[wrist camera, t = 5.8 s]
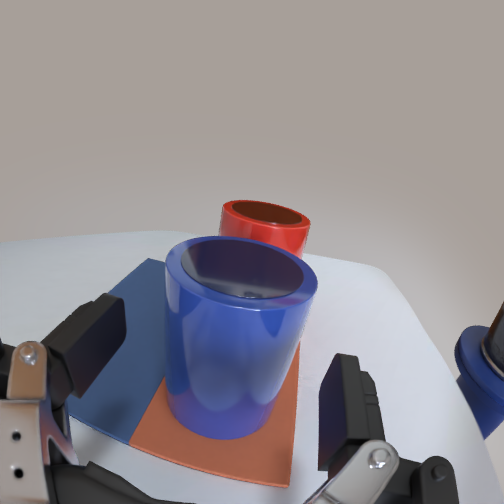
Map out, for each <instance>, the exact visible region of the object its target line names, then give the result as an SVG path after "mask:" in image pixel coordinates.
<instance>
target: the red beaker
mask: <svg viewBox="0 0 504 504" xmlns="http://www.w3.org/2000/svg"><path fill="white" fill-rule="evenodd" d="M309 228H310V220H309V219H308V218H307V217H305V216H304V215H302V214H301V213H299V212H297V211H294V210H292V209H289V208H286V207H283V206H279V205H276V204H271V203H266V202H260V201H249V200H237V201H230V202H227V203H225V204H224V205H223V208H222V215H221V222H220V228H219V236H231V237H240V238H247V239H252V240H256V241H260V242H264V243H267V244H271V245H273V246H276V247H279V248H281V249H284V250H286V251H288V252H290V253H292V254H293V255H295V256H297V257H298V258H300V259H302V256H303V251H304V248H305V244H306V240H307V236H308V232H309Z"/></svg>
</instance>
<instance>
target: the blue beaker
mask: <svg viewBox="0 0 504 504" xmlns="http://www.w3.org/2000/svg"><path fill="white" fill-rule="evenodd" d="M317 287H318V281H317V277H316V275H315V273H314V272H313V270H312V269H311V268H310V267H309V266H308V265H307V264H306V263H305V262H304V261H303V260H301V259H300V258H298V257H297V256H295V255H293V254H292V253H290V252H288V251H286V250H284V249H281V248H279V247H276V246H273V245H271V244H267V243H264V242H260V241H256V240H252V239H247V238H240V237H231V236H207V237H199V238H194V239H190V240H187V241H184V242H182V243H180V244H178V245H176V246H175V247H173V248H172V249H171V250H170V251H169V253H168V255H167V257H166V261H165V285H164V365H165V388H166V400H167V404H168V407H169V409H170V411H171V413H172V414H173V416H174V417H175V418H176V419H177V420H178V421H179V423H181V424H182V425H183V426H184V427H186V428H187V429H189V430H190V431H192V432H194V433H196V434H198V435H201V436H204V437H207V438H212V439H219V440H231V439H238V438H242V437H245V436H248V435H250V434H252V433H254V432H256V431H257V430H259V429H260V428H261V427H262V426H263V425H264V424H265V423H266V422H267V420H268V419H269V417H270V415H271V413H272V410H273V408H274V406H275V403H276V401H277V398H278V396H279V393H280V391H281V388H282V386H283V383H284V381H285V378H286V376H287V373H288V370H289V368H290V365H291V363H292V360H293V357H294V354H295V352H296V349H297V346H298V344H299V341H300V338H301V335H302V332H303V329H304V327H305V324H306V321H307V318H308V315H309V312H310V309H311V306H312V303H313V300H314V297H315V294H316V290H317Z"/></svg>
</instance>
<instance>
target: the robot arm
mask: <svg viewBox="0 0 504 504" xmlns="http://www.w3.org/2000/svg"><path fill="white" fill-rule="evenodd" d="M126 333H127V327H126V316H125V304H124V300H123V299H122V298H120V297H117V296H114V295H111V294H108V293H103V294H102V295H101V296H100V297H99V298H97V299H96V300H95V301H94V302H93V301H90V302H88V303H86V304H83V305H81V306H79V307H78V308H77V309H76V310H75V311H74V312H73V313H72V315H69V316H68V317H67V318H66V319H65V321H63V322H62V323H60V324H59V325H58V326H57V327H56V328H55V329H54V330H53V331H52V332H51V333H50V334H49V335H48V336H46V337H45V338H44V339H43V340H42V341H41V342H40V343H39V342H36V341H27V342H24V343H22V344H20V345H18V346H17V347H14V346H10V345H7V344H3V343H2V341H1V339H0V504H195V503H183V502H173V501H165V500H158V499H154V498H151V497H150V496H148V495H146V494H145V493H143V492H142V491H141V490H139V489H138V488H136V487H135V486H133V485H132V484H130V483H129V482H128V481H126V480H125V479H124V478H122V477H121V476H119V475H117V474H115V473H113V472H111V471H109V470H106V469H105V468H103V467H101V466H99V465H97V464H95V463H93V462H91V461H89V463H88V464H87V466H81V465H79V461H78V458H77V455H76V453H75V450H74V448H73V444H72V439H71V432H70V423H69V414H68V403H67V400H66V399H67V397H68V396H69V395H70V394H71V395H73V396H75V397H77V398H78V399H81V398H82V396H83V395H84V394H85V392H86V391H87V390H88V388H89V387H90V386H91V384H92V383H93V382H94V380H95V379H96V378H97V376H98V375H99V374H100V372H101V371H102V370H103V368H104V367H105V366H106V365H107V363H108V362H109V361H110V359H111V358H112V357H113V356H114V354H115V353H116V352H117V351H118V349H119V348H120V347H121V345H122V344H123V342H124V340H125V338H126ZM480 352H481V355H482V357H483V359H484V361H485V362H486V364H487V365H488V367H489V368H490V369H491V370H492V371H493V373H494V374H495V375H496V376H497V377H499V378H500V379H501V380H502V381H503V382H504V302H503V304H502V306H501V308H500V310H499V312H498V314H497V316H496V317H495V319H494V321H493V323H492V325H491V327H490V328H489V330H488V332H487V334H486V335H485V336H484V337H483V339H482V341H481V342H480ZM378 404H379V402H378V397H377V392H376V387H375V382H374V381H373V379H372V378H371V376H370V375H369V374H368V372H365V371H360V366H359V360H358V357H357V356H352V355H346V354H340V353H337V354H336V355H335V356H334V358H333V360H332V362H331V364H330V367H329V369H328V371H327V373H326V375H325V377H324V379H323V381H322V383H321V386H320V391H319V448H318V471H328V479H327V480H326V481H325V482H324V483H323V484H322V485H321V486H320V487H319V488H318V489H317V490H316V491H315V492H314V493H313V494H312V495H311V496H310V497H309V498H308V499H307V500H306V501H305V502H304V503H303V504H459V499H458V492H457V485H456V479H455V474H454V469H453V467H452V465H451V463H450V462H449V461H448V460H447V459H445V458H443V457H440V456H432V457H430V458H428V459H427V460H425V461H424V462H423V463H419V462H415V461H411V460H407V459H403V458H401V457H399V456H398V453H397V451H396V450H395V448H394V447H393V446H392V445H390V444H389V443H387V442H386V440H385V435H384V429H383V423H382V417H381V412H380V407H379V406H378Z"/></svg>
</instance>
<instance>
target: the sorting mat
mask: <svg viewBox="0 0 504 504" xmlns="http://www.w3.org/2000/svg"><path fill="white" fill-rule="evenodd" d="M164 285H165V262H161V261H157V260H154V259H150V258H148V259H147V260H145V261H144V262H143V263H142V264H141V265H139V266H138V267H137V268H136V269H135V270H134V271H132V272H131V273H130V274H129V275H128V276H127V277H125V278H124V279H123V280H122V281H121V282H120V283H119V284H117V285H116V286H115V287H114V288H113V289H112V290H111V291H109V292H108V294H111V295H114V296H117V297H120V298H122V299H123V300H124V304H125V316H126V327H127V333H126V338H125V340H124V342H123V344H122V345H121V347H120V348H119V349H118V351H117V352H116V353H115V354H114V356H113V357H112V358H111V359H110V361H109V362H108V363H107V365H106V366H105V367H104V368H103V370H102V371H101V372H100V374H99V375H98V376H97V378H96V379H95V380H94V382H93V383H92V384H91V386H90V387H89V388H88V390H87V391H86V392H85V394H84V395H83V396H82V398H81V399H78V398H77V397H75V396H73V395H71V394H70V395H69V396H68V397H67V399H66V400H67V403H68V414H69V415H71V416H73V417H74V418H76V419H78V420H80V421H81V422H83V423H85V424H87V425H89V426H90V427H92V428H94V429H96V430H98V431H100V432H102V433H104V434H106V435H108V436H110V437H112V438H114V439H116V440H119V441H121V442H123V443H125V444H127V445H130V446H132V447H134V448H137V449H139V450H142V451H144V452H147V453H149V454H152V455H154V456H157V457H160V458H162V459H165V460H168V461H171V462H174V463H177V464H180V465H183V466H186V467H189V468H193V469H196V470H200V471H203V472H207V473H211V474H215V475H219V476H223V477H227V478H232V479H236V480H241V481H246V482H252V483H257V484H263V485H270V486H277V487H285V488H287V487H288V486H289V483H290V474H291V464H292V454H293V443H294V432H295V419H296V405H297V389H298V371H299V350H300V341H299V344H298V346H297V349H296V352H295V354H294V357H293V360H292V363H291V365H290V368H289V370H288V373H287V376H286V378H285V381H284V383H283V386H282V388H281V391H280V393H279V396H278V398H277V401H276V403H275V406H274V408H273V410H272V413H271V415H270V417H269V419H268V420H267V422H266V423H265V424H264V425H263V426H262V427H261V428H260V429H259V430H257V431H256V432H254V433H252V434H250V435H248V436H245V437H242V438H238V439H231V440H219V439H212V438H207V437H204V436H201V435H198V434H196V433H194V432H192V431H190V430H189V429H187V428H186V427H184V426H183V425H182V424H181V423H179V421H178V420H177V419H176V418H175V417H174V416H173V414H172V413H171V411H170V409H169V407H168V404H167V400H166V388H165V365H164Z"/></svg>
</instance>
